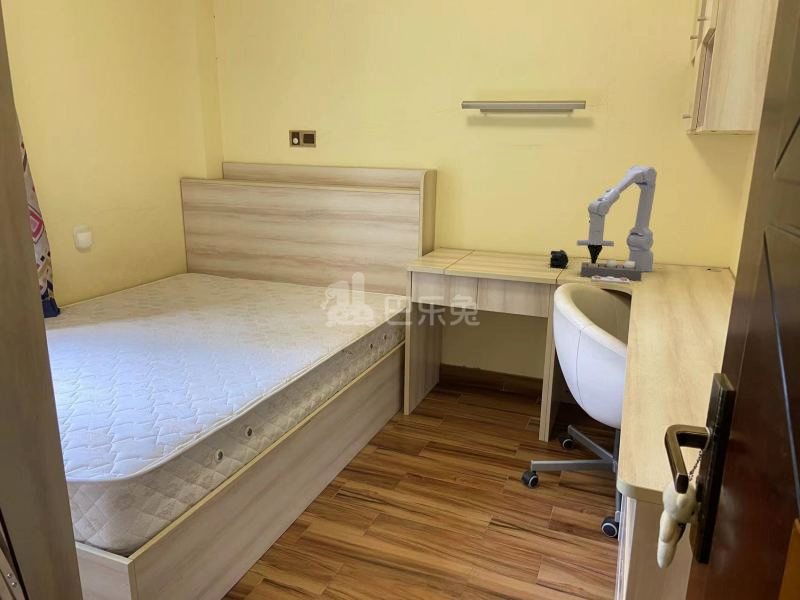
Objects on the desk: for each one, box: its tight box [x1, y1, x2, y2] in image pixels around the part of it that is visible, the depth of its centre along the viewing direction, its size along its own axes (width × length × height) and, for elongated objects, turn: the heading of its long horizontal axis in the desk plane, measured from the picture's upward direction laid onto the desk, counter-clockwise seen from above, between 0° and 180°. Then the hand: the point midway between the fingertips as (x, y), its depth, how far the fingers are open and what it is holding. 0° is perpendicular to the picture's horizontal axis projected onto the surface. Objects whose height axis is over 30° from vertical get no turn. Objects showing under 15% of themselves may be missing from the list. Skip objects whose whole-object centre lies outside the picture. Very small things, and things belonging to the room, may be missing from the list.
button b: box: [605, 259, 617, 268], centre depth 249 cm, size 4×4×4 cm
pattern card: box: [591, 275, 630, 285], centre depth 241 cm, size 14×6×2 cm, turn 72°
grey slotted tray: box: [580, 261, 643, 282], centre depth 250 cm, size 23×11×4 cm, turn 72°
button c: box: [588, 262, 598, 267], centre depth 252 cm, size 4×4×4 cm
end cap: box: [549, 249, 569, 269], centre depth 268 cm, size 10×7×7 cm
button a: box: [623, 260, 635, 269], centre depth 247 cm, size 4×4×4 cm
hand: (593, 263), depth 251 cm, fingers closed
